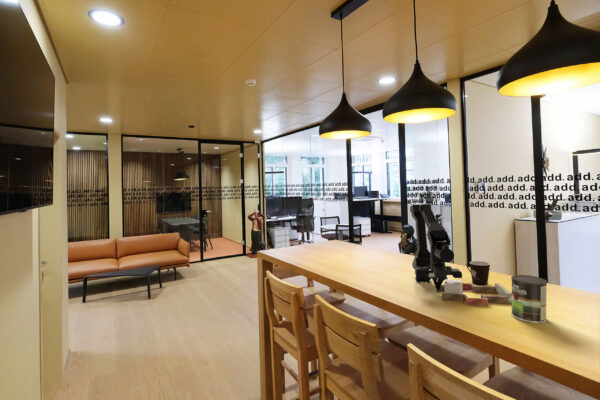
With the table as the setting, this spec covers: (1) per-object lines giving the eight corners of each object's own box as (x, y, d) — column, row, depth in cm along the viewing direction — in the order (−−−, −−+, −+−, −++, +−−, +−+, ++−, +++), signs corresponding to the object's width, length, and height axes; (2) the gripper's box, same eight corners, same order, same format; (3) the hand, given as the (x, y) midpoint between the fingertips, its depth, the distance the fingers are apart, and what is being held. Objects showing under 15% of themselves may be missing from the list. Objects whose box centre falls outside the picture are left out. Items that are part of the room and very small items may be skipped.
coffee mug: (493, 286, 144) (493, 265, 144) (473, 286, 146) (473, 265, 145) (483, 279, 155) (483, 259, 155) (465, 278, 157) (465, 259, 157)
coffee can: (527, 324, 105) (527, 284, 105) (504, 312, 115) (504, 275, 115) (554, 322, 106) (554, 282, 105) (530, 310, 116) (530, 274, 116)
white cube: (462, 294, 135) (462, 281, 135) (459, 298, 131) (459, 284, 130) (448, 291, 139) (447, 278, 139) (444, 295, 134) (444, 282, 134)
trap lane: (444, 303, 126) (444, 293, 126) (434, 287, 146) (434, 278, 146) (516, 306, 120) (516, 296, 120) (495, 289, 140) (495, 280, 140)
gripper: (417, 260, 130) (417, 296, 131) (465, 262, 125) (465, 299, 126) (414, 254, 141) (414, 288, 141) (458, 255, 136) (458, 290, 137)
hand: (437, 291), depth 136 cm, fingers closed
